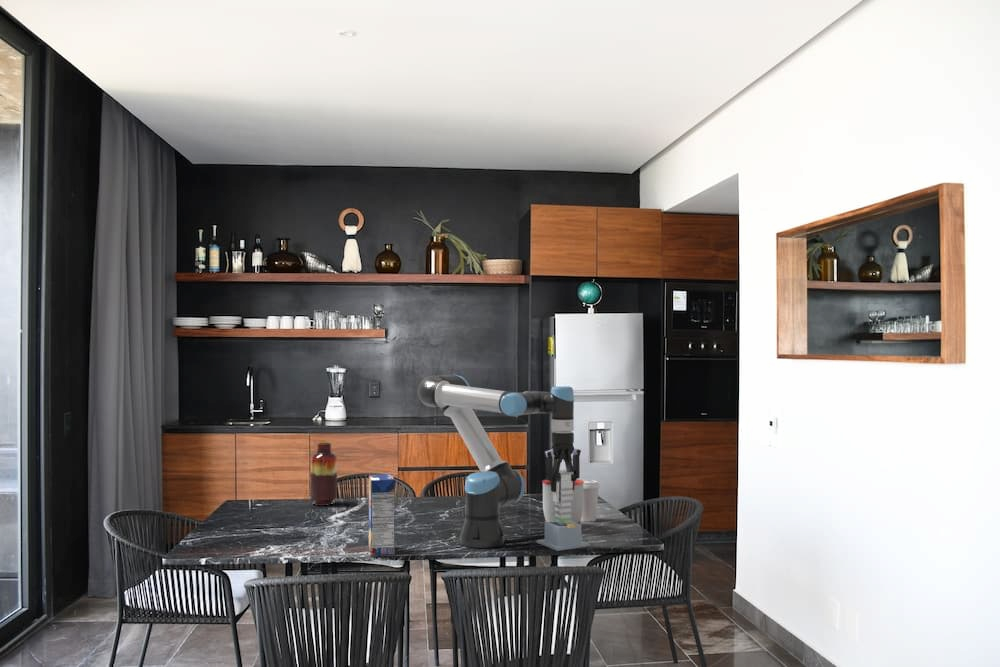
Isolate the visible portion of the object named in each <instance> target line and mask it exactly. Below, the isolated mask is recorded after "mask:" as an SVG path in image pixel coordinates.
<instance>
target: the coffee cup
mask: <svg viewBox="0 0 1000 667" xmlns="http://www.w3.org/2000/svg"><path fill="white" fill-rule="evenodd" d="M581 480H582V481H584V483H583V513H582V517H581V522H585V521H586V522H588V523H590V522H591V521H592V522H596V521H597V513H598V512H597V511H598V502H599V501H598V500H599V489H600V487H601V486H600V483H599V481H598V480H594V479H581Z"/></svg>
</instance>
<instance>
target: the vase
mask: <svg viewBox="0 0 1000 667" xmlns="http://www.w3.org/2000/svg"><path fill="white" fill-rule="evenodd" d="M316 448H317V449H316V453H314V454H312V456H311V457H310V499H311V500H312V501H313V502H312V505H313V504H317V505H326V504H331V503H334V504H335V501H334V500H336V499H337V496H338V456H337V455H336V453H334V452H332V442H328V441H326V442H317V445H316Z"/></svg>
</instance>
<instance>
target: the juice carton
mask: <svg viewBox="0 0 1000 667" xmlns="http://www.w3.org/2000/svg"><path fill="white" fill-rule="evenodd" d="M395 496H396V479H395V477H394V475H393V474H391V473H387V474H385V473H384V474H369V475H368V550H370V551H369V554H370V553H371V554H370V557H378V556H381V557H383V556H395V552H396V551H395V550H396V549H395V535H396V534H395V532H396V531H395V528H396V527H395V526H396V525H395V524H396V521H395V519H396V518H395V517H396V516H395V515H396V514H395V513H396V512H395V511H396V510H395V509H396V497H395Z"/></svg>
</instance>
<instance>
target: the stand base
mask: <svg viewBox="0 0 1000 667" xmlns="http://www.w3.org/2000/svg"><path fill="white" fill-rule="evenodd" d="M536 543H537V544H539V545H542V546H544V547H547V548H549V549H551V550H554V551H557V552H559V551H567V550H573V549H580V548H586V547H587V546H588V547H591V544H590V543H588V542H587V541H583V540H582V524H581V523H580V524H578V523H575V522H572V521H571V524H567V525H565V526H560V525H557V524H555V521H552V522H546V521H545V522H544V538H543V539H536ZM588 547H587V548H588Z"/></svg>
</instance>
